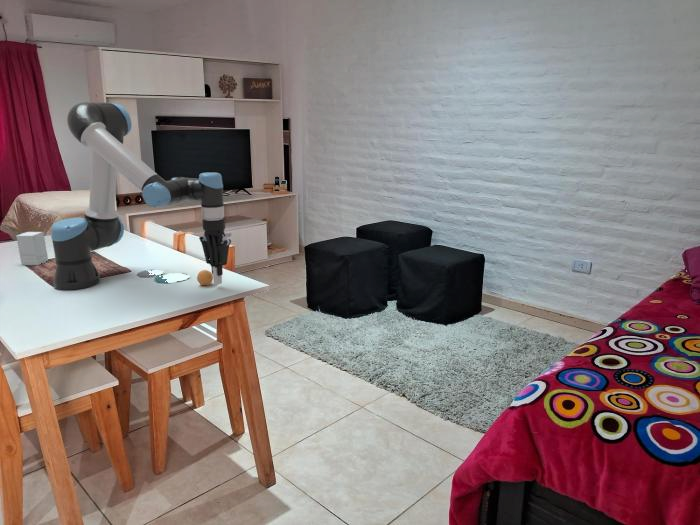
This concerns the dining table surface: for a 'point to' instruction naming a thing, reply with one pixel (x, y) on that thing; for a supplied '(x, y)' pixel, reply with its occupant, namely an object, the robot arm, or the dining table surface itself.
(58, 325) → the dining table surface
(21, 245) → the supplement box
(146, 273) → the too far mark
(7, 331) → the dining table surface
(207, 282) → the ball
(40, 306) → the dining table surface
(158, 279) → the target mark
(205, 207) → the robot arm
